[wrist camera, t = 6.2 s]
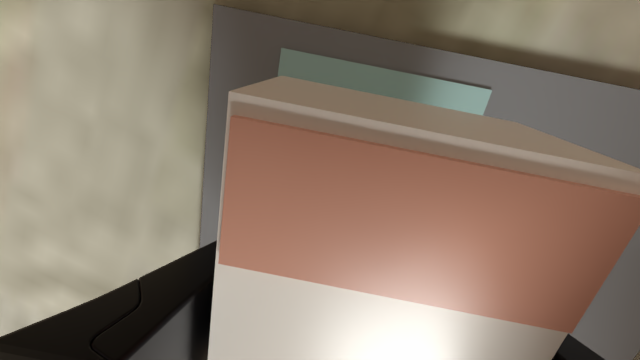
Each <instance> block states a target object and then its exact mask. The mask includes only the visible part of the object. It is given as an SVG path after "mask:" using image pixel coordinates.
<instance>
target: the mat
mask: <svg viewBox="0 0 640 360" xmlns="http://www.w3.org/2000/svg"><path fill="white" fill-rule="evenodd" d="M279 76H287V77H292V78H297V79H302V80H307V81H312V82H317V83H322V84H327V85H332V86H337V87H342V88H347V89H352V90H357V91H362V92H367V93H372V94H377V95H382V96H387V97H392V98H397V99H402V100H407V101H412V102H417V103H422V104H427V105H432V106H437V107H442V108H447V109H452V110H457V111H462V112H467V113H472V114H477V115H482V116H487V117H492V118H497V119H503V120H508V121H513V122H517V123H520V124H522V125H525V126H528V127H530V128H533V129H536V130H538V131H541V132H544V133H546V134H549V135H552V136H554V137H557V138H560V139H562V140H565V141H568V142H570V143H573V144H576V145H578V146H581V147H583V148H586V149H589V150H591V151H594V152H597V153H599V154H602V155H605V156H607V157H610V158H613V159H615V160H618V161H621V162H623V163H626V164H629V165H631V166H634V167H637V168H639V169H640V90H638V89H633V88H628V87H623V86H618V85H613V84H608V83H603V82H598V81H593V80H588V79H583V78H578V77H573V76H568V75H563V74H558V73H553V72H548V71H543V70H538V69H533V68H528V67H523V66H519V65H514V64H509V63H504V62H499V61H494V60H489V59H484V58H479V57H474V56H469V55H464V54H459V53H454V52H449V51H444V50H439V49H434V48H429V47H424V46H419V45H414V44H409V43H404V42H399V41H394V40H389V39H384V38H379V37H375V36H370V35H365V34H360V33H355V32H350V31H345V30H340V29H335V28H330V27H325V26H320V25H315V24H310V23H305V22H300V21H295V20H290V19H285V18H280V17H275V16H270V15H265V14H260V13H255V12H250V11H245V10H240V9H235V8H231V7H226V6H221V5H216V4H214V6H213V24H212V41H211V59H210V76H209V93H208V111H207V128H206V145H205V163H204V180H203V198H202V215H201V232H200V248H202V247H204V246H206V245H208V244H210V243H212V242H214V241H216V240H217V234H218V221H219V208H220V196H221V183H222V170H223V158H224V145H225V132H226V120H227V107H228V94H229V91H231V90H235V89H238V88H241V87H245V86H248V85H251V84H255V83H258V82H262V81H265V80H268V79H272V78H275V77H279ZM568 334H570V335H571V336H572V337H574V338H575V339H577V340H578V341H580V342H581V343H582V344H584V345H585V346H587V347H588V348H590V349H591V350H592V351H594V352H595V353H597V354H598V355H600V356H601V357H602V358H604V359H605V360H633V359H634V358H635V356H636V355H637V354H638V352H639V351H640V226H639V227H638V229H637V230H636V232H635V233H634V235H633V237H632V238H631V240H630V241H629V243H628V245H627V246H626V248H625V249H624V251H623V253H622V254H621V256H620V257H619V259H618V261H617V262H616V264H615V265H614V267H613V269H612V270H611V272H610V273H609V275H608V277H607V278H606V280H605V281H604V283H603V285H602V286H601V288H600V289H599V291H598V292H597V294H596V296H595V297H594V299H593V300H592V302H591V304H590V305H589V307H588V308H587V310H586V312H585V313H584V315H583V316H582V318H581V320H580V321H579V323H578V324H577V326H576V328H575V329H574V331H573V332H572V334H571V333H568Z"/></svg>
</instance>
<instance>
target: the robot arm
mask: <svg viewBox="0 0 640 360" xmlns="http://www.w3.org/2000/svg"><path fill="white" fill-rule="evenodd" d="M216 246H217V240H216V241H214V242H212V243H210V244H208V245H206V246H204V247H202V248H200V249H197V250H195V251H193V252H191V253H189V254H187V255H185V256H183V257H181V258H179V259H177V260H175V261H173V262H171V263H169V264H167V265H165V266H163V267H161V268H158V269H156V270H154V271H152V272H150V273H148V274H146V275H144V276H142V277H140V278H139V280H138V279H136V280H134V281H132V282H130V283H127V284H125V285H123V286H121V287H119V288H117V289H115V290H113V291H110V292H108V293H106V294H104V295H102V296H100V297H98V298H95V299H93V300H90V301H88V302H86V303H83V304H81V305H78V306H76V307H74V308H71V309H69V310H66V311H64V312H61V313H59V314H57V315H54V316H52V317H49V318H47V319H44V320H42V321H39V322H37V323H34V324H32V325H29V326H27V327H24V328H22V329H19V330H17V331H14V332H12V333H9V334H7V335H4V336H2V337H0V360H208V348H209V335H210V323H211V310H212V297H213V285H214V272H215V259H216ZM552 360H605V359H604V358H602V357H601V356H600V355H598V354H597V353H595V352H594V351H592V350H591V349H590V348H588V347H587V346H585V345H584V344H582V343H581V342H580V341H578V340H577V339H575V338H574V337H572V336H571V335H570V334H567V336H566V337H565V339H564V341H563V342H562V344H561V345H560V347H559V349H558V350H557V352H556V354H555V355H554V357H553V358H552Z"/></svg>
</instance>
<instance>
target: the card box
mask: <svg viewBox="0 0 640 360" xmlns="http://www.w3.org/2000/svg"><path fill="white" fill-rule="evenodd" d="M639 226H640V169H639V168H637V167H634V166H631V165H629V164H626V163H623V162H621V161H618V160H615V159H613V158H610V157H607V156H605V155H602V154H599V153H597V152H594V151H591V150H589V149H586V148H583V147H581V146H578V145H576V144H573V143H570V142H568V141H565V140H562V139H560V138H557V137H554V136H552V135H549V134H546V133H544V132H541V131H538V130H536V129H533V128H530V127H528V126H525V125H522V124H520V123H517V122H513V121H508V120H503V119H497V118H492V117H487V116H482V115H477V114H472V113H467V112H462V111H457V110H452V109H447V108H442V107H437V106H432V105H427V104H422V103H417V102H412V101H407V100H402V99H397V98H392V97H387V96H382V95H377V94H372V93H367V92H362V91H357V90H352V89H347V88H342V87H337V86H332V85H327V84H322V83H317V82H312V81H307V80H302V79H297V78H292V77H287V76H279V77H275V78H272V79H268V80H265V81H262V82H258V83H255V84H251V85H248V86H245V87H241V88H238V89H235V90H231V91H229V94H228V107H227V120H226V132H225V145H224V158H223V170H222V183H221V196H220V208H219V221H218V234H217V246H216V259H215V272H214V285H213V297H212V310H211V323H210V335H209V348H208V360H552V358H553V357H554V355H555V354H556V352H557V350H558V349H559V347H560V345H561V344H562V342H563V341H564V339H565V337H566V336H567V334H568V333H571V334H572V332H573V331H574V329H575V328H576V326H577V324H578V323H579V321H580V320H581V318H582V316H583V315H584V313H585V312H586V310H587V308H588V307H589V305H590V304H591V302H592V300H593V299H594V297H595V296H596V294H597V292H598V291H599V289H600V288H601V286H602V285H603V283H604V281H605V280H606V278H607V277H608V275H609V273H610V272H611V270H612V269H613V267H614V265H615V264H616V262H617V261H618V259H619V257H620V256H621V254H622V253H623V251H624V249H625V248H626V246H627V245H628V243H629V241H630V240H631V238H632V237H633V235H634V233H635V232H636V230H637V229H638V227H639Z"/></svg>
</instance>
